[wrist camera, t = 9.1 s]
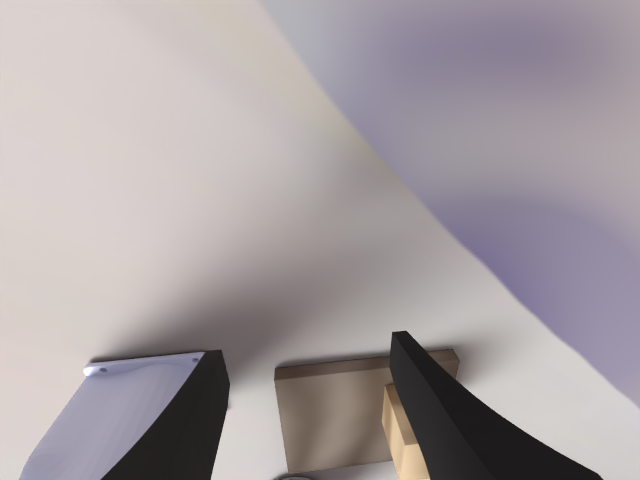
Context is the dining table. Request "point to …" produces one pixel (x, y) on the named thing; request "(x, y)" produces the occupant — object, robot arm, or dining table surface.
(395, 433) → the oak block
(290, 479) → the can
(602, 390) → the dining table surface
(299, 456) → the serving board
